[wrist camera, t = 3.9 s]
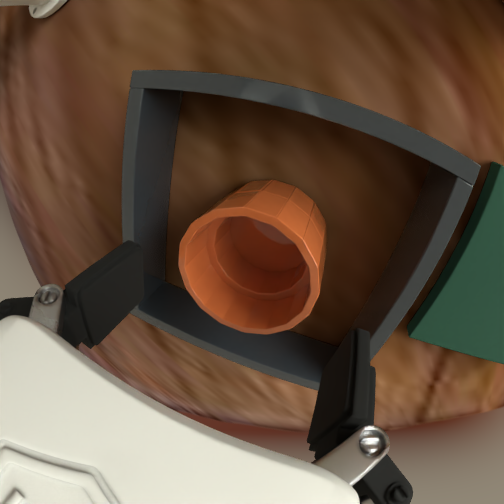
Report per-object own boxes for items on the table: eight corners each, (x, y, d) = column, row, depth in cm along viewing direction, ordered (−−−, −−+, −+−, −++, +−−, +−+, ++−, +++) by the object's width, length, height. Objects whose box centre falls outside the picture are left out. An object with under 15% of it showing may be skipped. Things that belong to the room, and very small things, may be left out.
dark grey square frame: (155, 285, 23) (129, 313, 19) (173, 74, 14) (132, 70, 10) (343, 357, 20) (339, 396, 17) (450, 152, 11) (481, 166, 8)
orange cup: (215, 257, 19) (175, 304, 15) (232, 164, 16) (184, 188, 11) (307, 291, 18) (291, 350, 14) (342, 199, 15) (343, 240, 10)
